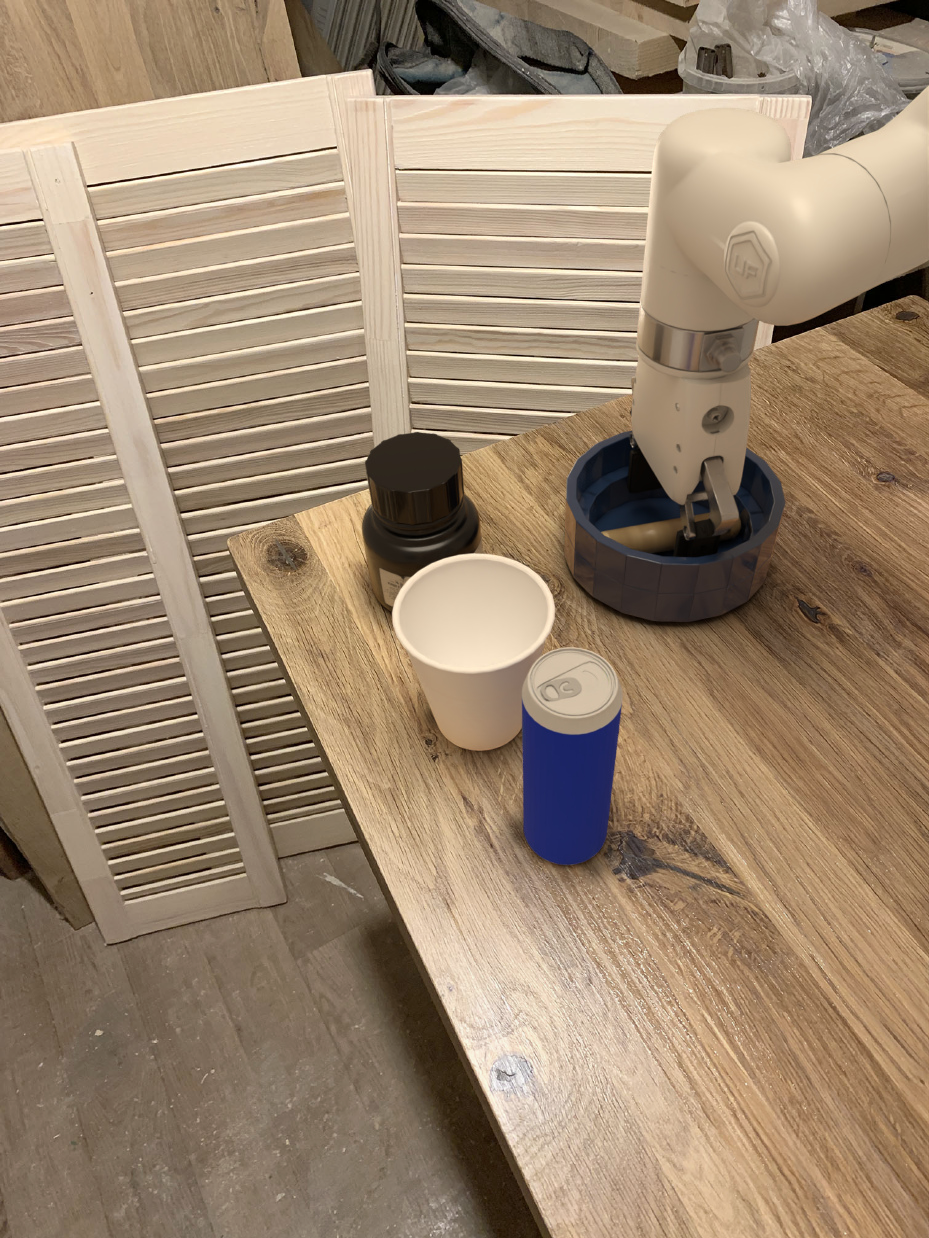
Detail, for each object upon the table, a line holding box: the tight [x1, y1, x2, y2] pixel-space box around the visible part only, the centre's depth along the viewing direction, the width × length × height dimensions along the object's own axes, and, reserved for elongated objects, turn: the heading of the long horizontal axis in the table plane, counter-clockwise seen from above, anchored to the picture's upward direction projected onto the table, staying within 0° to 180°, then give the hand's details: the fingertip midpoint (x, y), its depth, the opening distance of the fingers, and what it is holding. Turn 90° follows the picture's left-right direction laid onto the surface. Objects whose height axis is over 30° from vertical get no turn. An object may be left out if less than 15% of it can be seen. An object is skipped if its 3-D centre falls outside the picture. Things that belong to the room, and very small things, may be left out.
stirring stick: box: [601, 513, 741, 554], centre depth 73 cm, size 12×2×2 cm, turn 103°
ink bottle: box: [361, 431, 484, 613], centre depth 69 cm, size 10×9×12 cm
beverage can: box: [521, 646, 624, 866], centre depth 52 cm, size 5×5×15 cm
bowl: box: [563, 430, 786, 623], centre depth 72 cm, size 16×16×6 cm
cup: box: [391, 553, 556, 752], centre depth 60 cm, size 10×10×11 cm
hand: (668, 527), depth 72 cm, fingers open, 9 cm apart
